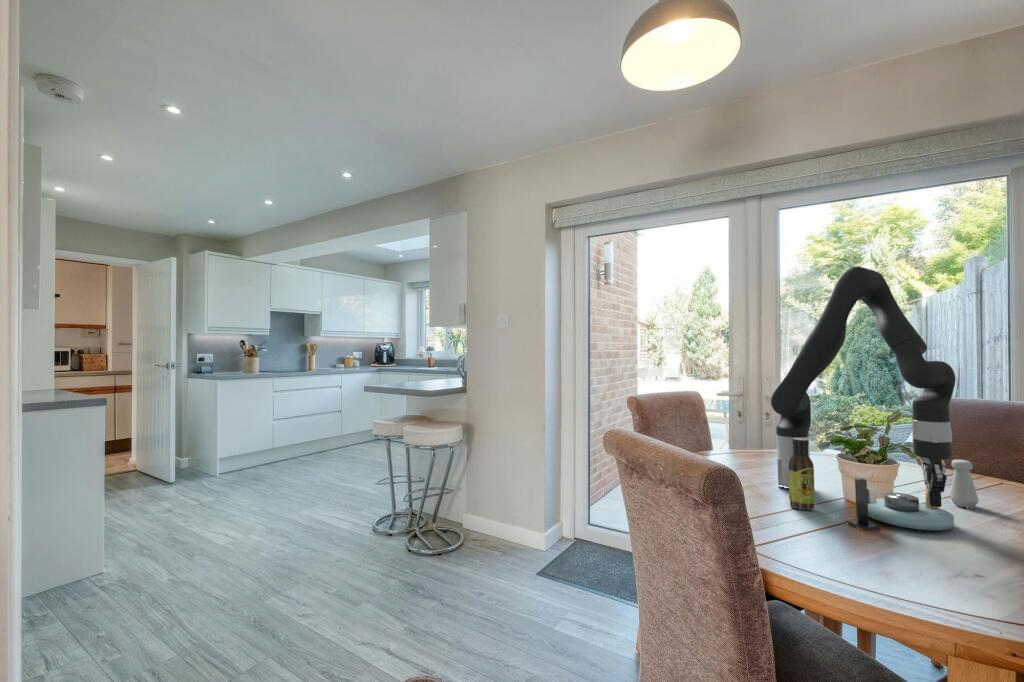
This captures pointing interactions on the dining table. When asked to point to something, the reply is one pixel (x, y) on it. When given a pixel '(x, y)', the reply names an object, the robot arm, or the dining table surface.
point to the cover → (901, 502)
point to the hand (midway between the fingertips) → (935, 505)
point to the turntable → (913, 516)
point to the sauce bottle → (801, 476)
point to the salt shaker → (963, 485)
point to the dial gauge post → (863, 505)
